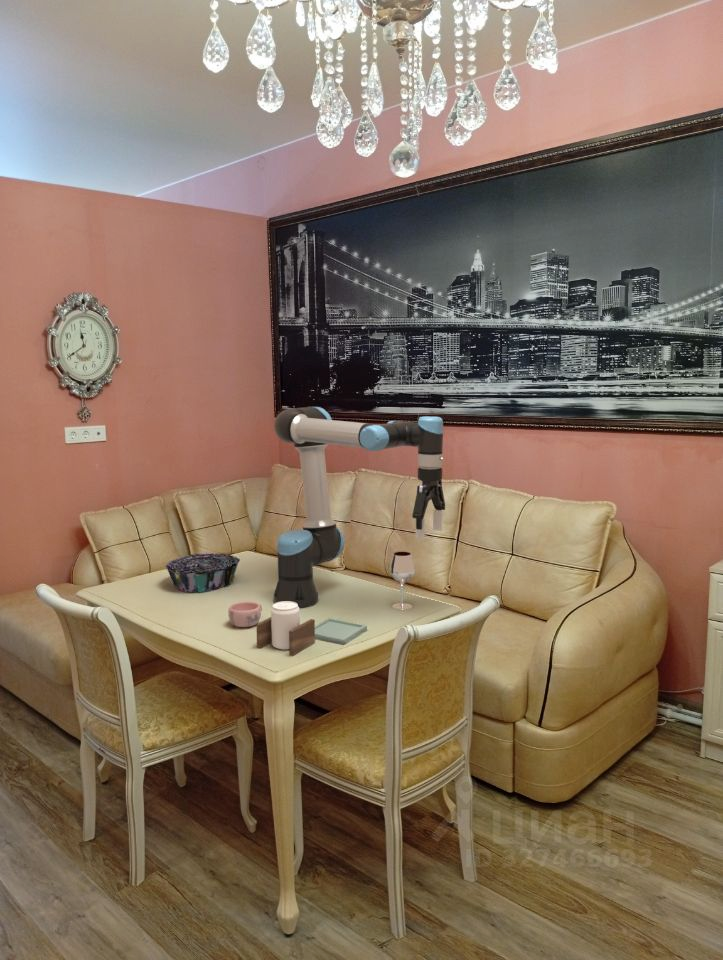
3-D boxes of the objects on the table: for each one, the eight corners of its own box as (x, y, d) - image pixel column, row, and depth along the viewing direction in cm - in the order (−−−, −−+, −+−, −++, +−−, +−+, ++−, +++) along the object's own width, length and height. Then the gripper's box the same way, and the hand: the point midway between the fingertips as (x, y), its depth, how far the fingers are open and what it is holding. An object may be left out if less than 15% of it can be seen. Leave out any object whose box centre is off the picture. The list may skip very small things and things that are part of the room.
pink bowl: (243, 632, 226) (243, 613, 225) (222, 625, 232) (221, 607, 231) (272, 621, 235) (272, 603, 234) (251, 615, 241) (250, 597, 240)
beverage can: (295, 651, 211) (294, 610, 209) (268, 649, 213) (267, 609, 211) (303, 641, 219) (302, 601, 217) (277, 639, 220) (276, 599, 218)
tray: (304, 636, 222) (304, 631, 222) (328, 622, 234) (328, 617, 234) (343, 644, 216) (343, 639, 215) (367, 630, 227) (367, 625, 227)
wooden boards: (257, 647, 214) (256, 624, 213) (279, 635, 223) (279, 612, 222) (293, 656, 208) (292, 631, 207) (314, 642, 217) (314, 619, 216)
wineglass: (388, 603, 252) (388, 550, 249) (412, 602, 253) (412, 550, 250) (391, 611, 244) (391, 557, 241) (416, 610, 245) (416, 556, 242)
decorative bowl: (254, 585, 279) (255, 559, 278) (201, 600, 256) (201, 571, 255) (204, 575, 293) (204, 549, 292) (149, 588, 270) (149, 560, 269)
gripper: (425, 473, 219) (423, 544, 222) (456, 462, 240) (454, 527, 244) (401, 471, 222) (400, 541, 226) (434, 461, 244) (433, 525, 247)
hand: (428, 534), depth 235 cm, fingers open, 13 cm apart
